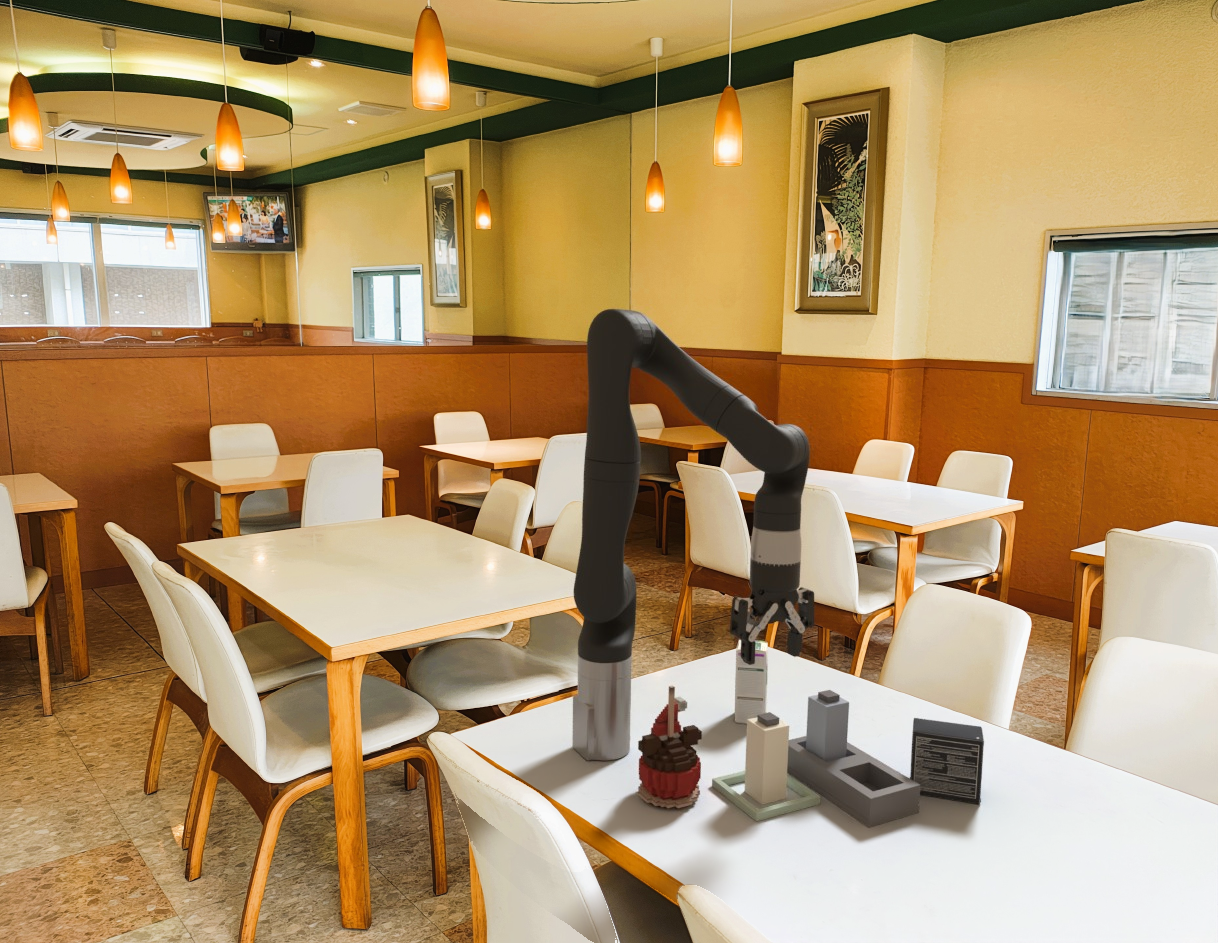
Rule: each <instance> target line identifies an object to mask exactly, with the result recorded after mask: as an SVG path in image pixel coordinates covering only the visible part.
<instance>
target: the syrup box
mask: <svg viewBox="0 0 1218 943" xmlns="http://www.w3.org/2000/svg"><path fill="white" fill-rule="evenodd" d="M754 641H756V646H755V664H752V665H749V664H747V663H745V662H744V661H743V659H741V639H738V642H737V645H736V649H735V678H734V680H735V681H734V682H735V686H734V688H735V690H734V691H735V692H734V723H736V724H744V725H745V724H746V725H747V719H752V718H756V717H757V715H759V714H764V713H767V703H768V702H767V701H768V700H767V697H768V661H769V660H768V657H769V656H768V654H769V651H768V650H769V649H768V648H769V646H768V645H769V644H768V641H764V640H758V639H757V640H756V639H755V640H754Z"/></svg>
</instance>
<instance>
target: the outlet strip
mask: <svg viewBox="0 0 1218 943" xmlns="http://www.w3.org/2000/svg"><path fill="white" fill-rule="evenodd" d="M787 773H788V774H789V775H791V776H792V777H793V778H794V777H795V779H796V780H797V779H798V781H799V782H801V783H802V784H804V785H806V786H807V787H809V789H811V790H812V791H815V793H818V795H820V796H822V797H824V798H825V799H827V800H828V801H829V802H831V803H833V804H834V805H835V806H837V807H838V808H840V809H841V810H843V811H844V812H846V813H847V814H848V815H850V816H851V817H852V818H854V819H856V820H857V821H859V822H860V823H862V824H863V825H864V826H866V827H867V828H871V827H875V826H878V825H882V824H886V823H888V822H892V821H896V820H898V819H902V818H905V817H909V816H911V815H915V814H918V813H919V812H920V797H921V795H920V784H918V783H916V782H915V781H913V780H911V779H910V778H909V777H908V776H907V775H904V774H902V773H901V772H900V771H898V770H896V769H894V768H893V767H891V766H889V765H887V764H886V763H884V762H882V761H880V760H878V759H877V758H875V757H873V756H872V755H870V754H868V753H867V752H865V751H863V750H861V749H860V748H858V747H857V746H855V745H853V744H851V743H849V742H848V741H847V751H846V757H844V758H840V759H836V760H832V761H828V762H826V761H824V760H822V759H821V758H819V757H818V756H816V755H815V754H813V753H811V752H810V751H808V750H807V749H806V735H804V736H801V737H796V738H795V737H794V738H792V739H789V742H788V764H787Z"/></svg>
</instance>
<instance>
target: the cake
mask: <svg viewBox="0 0 1218 943" xmlns="http://www.w3.org/2000/svg"><path fill="white" fill-rule="evenodd" d="M675 690H676V687H675V686H674V685H668V703H667V704H665V705H666V706H664V708H662V710H661V711H660V713H658V715H657V716H656V718H654V722H653V723H652V727H651V728H650V733H649V734H646V735H642V736H641V740H638V742H637V743H638V744H637V748H638V749H637V750H638V751H640V753H641V754H642V755H640V758H638V780H640V781H641V783H639V786H638V796H639V797H640V798H641V799H642V800H643V801H645V803H646V804H650V803H651V804H653V805H654V806H655V807H658V806H660V807H661V808H664V807H665V808H667V809H671V808H674V807H675V808H676V809H680V808H684V807H687V806H692V805H693V802H698V798H699V796H700V795H701V790H700V786H699V782H700V779H701V773H702V772H701V771H702V770H701V769H702V768H701V767H702V761H701V758H700V757H699V756H698V754H697V750H696V749H695V748H694V747H693V746H695V745H696V746H697V745H698V744H699V741H701V740H702V738H703V737H702V736H703V731H702V730H700V729H699V727H697V726H696V725H695V724H692V725H688V726H683V727H682V725H681V724H680V721H679V713H680V712H686V709H688V701H686V700H685V699H684V698H683V697H681V696H677V697H675V696H676V695H675V693H676V692H675Z"/></svg>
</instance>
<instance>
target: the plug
mask: <svg viewBox="0 0 1218 943" xmlns="http://www.w3.org/2000/svg"><path fill="white" fill-rule="evenodd" d="M745 739H746V741H745V742H746V743H745V744H746V745H745V747H746V748H745V767H744V768H745V769H744V771H745V781H744V793H746V794H747V795H749V796H750V797H751V798H753V800H755V801H756V802H758V803H759V804H760V805H767V804H770V803H773V802H776V801H781V800H782V801H783V800H785V799H787V787H788V786H787V774H788V772H787V764H788V742H789V740H790V725H789V724H788V723H786V722H784V721H783V720H781V719H780V717H779V716H777V715H776V714H774V713H772V712H771V711H770V712H766V713H764V714H759V715H757V717H756V718H752V719H747V724H746V738H745Z"/></svg>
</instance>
